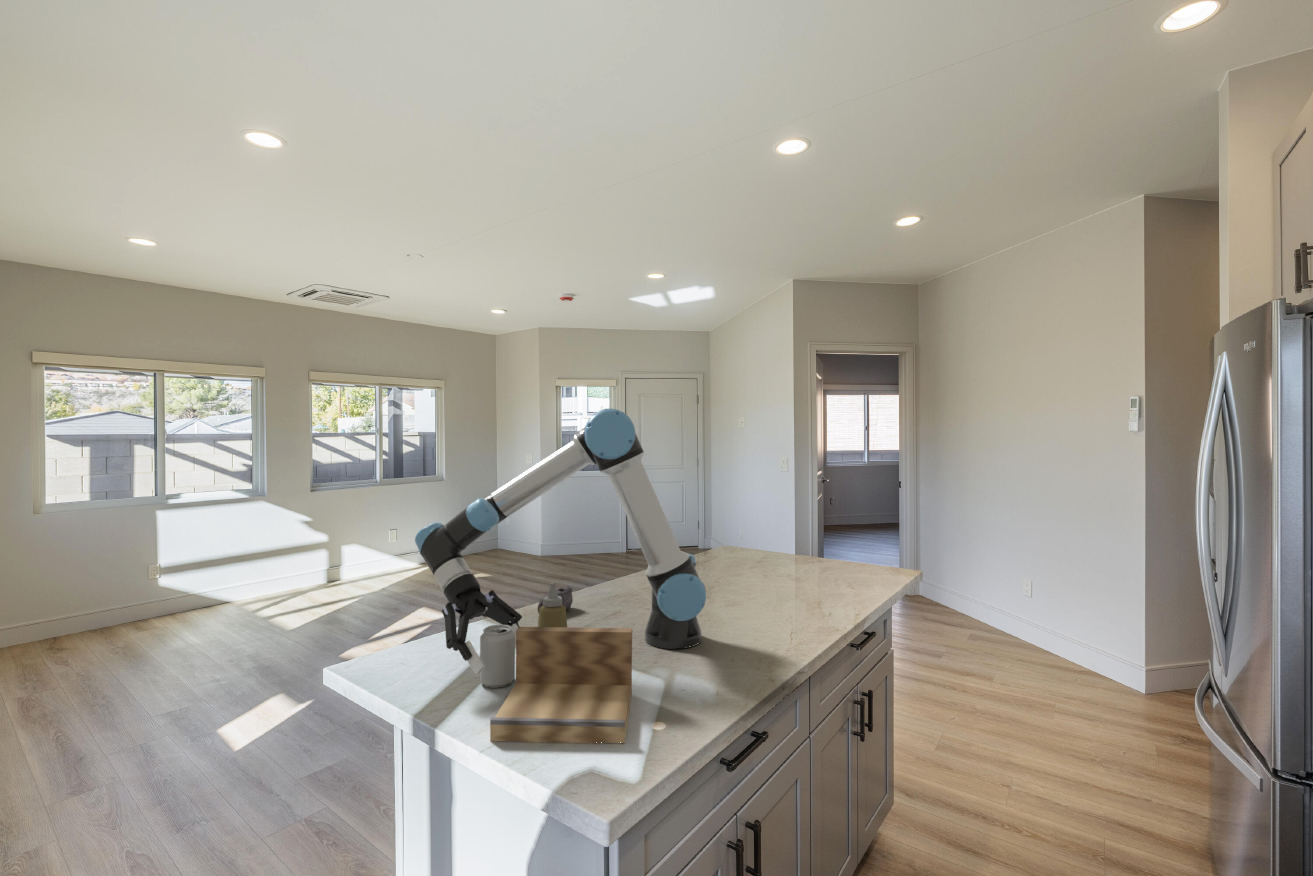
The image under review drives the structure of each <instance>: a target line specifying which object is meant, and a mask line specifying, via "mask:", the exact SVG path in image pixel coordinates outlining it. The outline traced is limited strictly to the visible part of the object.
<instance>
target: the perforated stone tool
mask: <svg viewBox="0 0 1313 876" xmlns="http://www.w3.org/2000/svg"><path fill="white" fill-rule="evenodd" d="M556 590H557V594H558V596H560V597H562V605H563V606H564V607H566V611H567V610H568V609H570V608H572V604H573V601H574V600H573V588H572V587H571V586H567V585H566V586H564V587H560V588H556ZM547 596H548V594H546V595H545V596H543V597H542V598H541V599H540V600H539V603H538V605H537V613H538V614H539V609H540V608H541V607H542V606H543V598H544V597H547Z"/></svg>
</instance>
